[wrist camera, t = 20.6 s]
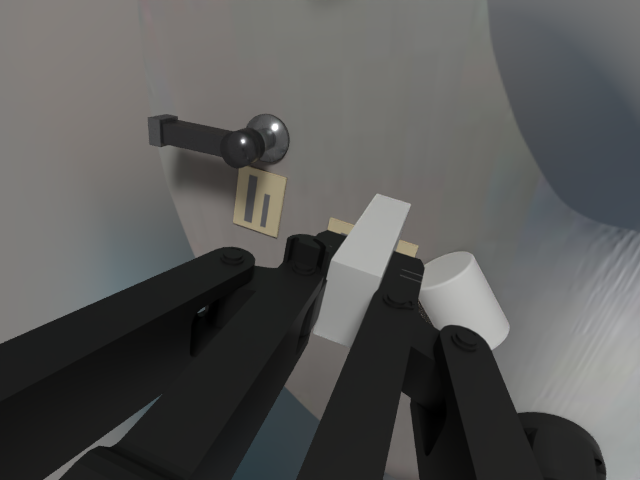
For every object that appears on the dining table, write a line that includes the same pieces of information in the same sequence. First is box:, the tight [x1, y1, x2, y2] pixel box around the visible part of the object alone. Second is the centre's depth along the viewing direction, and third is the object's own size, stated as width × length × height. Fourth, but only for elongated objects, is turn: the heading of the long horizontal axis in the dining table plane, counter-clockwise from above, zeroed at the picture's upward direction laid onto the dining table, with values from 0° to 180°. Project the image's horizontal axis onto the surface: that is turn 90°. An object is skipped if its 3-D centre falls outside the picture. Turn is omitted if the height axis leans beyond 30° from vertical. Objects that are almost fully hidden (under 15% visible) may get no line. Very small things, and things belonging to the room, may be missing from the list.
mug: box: [418, 251, 509, 350], centre depth 50 cm, size 12×10×8 cm
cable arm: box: [148, 114, 265, 168], centre depth 48 cm, size 14×4×4 cm, turn 82°
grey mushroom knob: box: [246, 114, 289, 162], centre depth 51 cm, size 6×6×5 cm
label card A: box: [233, 166, 287, 238], centre depth 57 cm, size 9×7×1 cm
